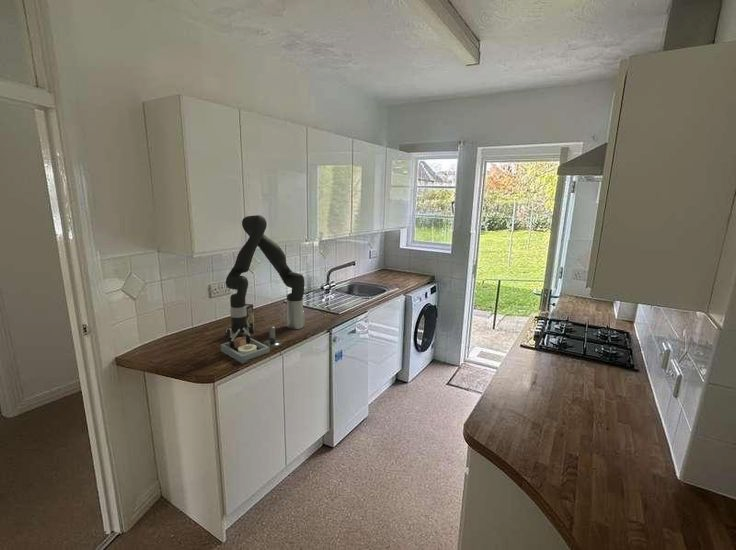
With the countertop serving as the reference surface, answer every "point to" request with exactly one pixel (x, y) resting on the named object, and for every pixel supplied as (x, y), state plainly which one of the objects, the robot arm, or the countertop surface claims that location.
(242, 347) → the ring
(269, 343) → the stake
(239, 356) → the tray
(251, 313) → the coffee box
